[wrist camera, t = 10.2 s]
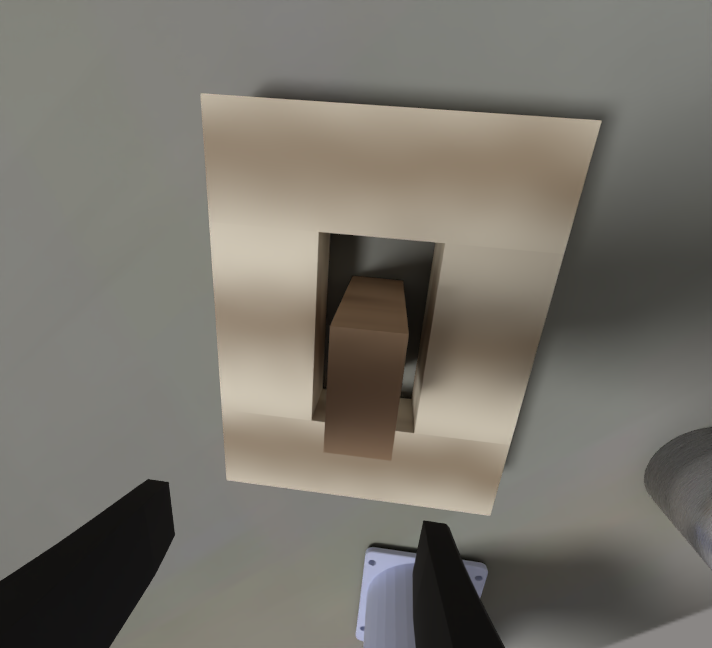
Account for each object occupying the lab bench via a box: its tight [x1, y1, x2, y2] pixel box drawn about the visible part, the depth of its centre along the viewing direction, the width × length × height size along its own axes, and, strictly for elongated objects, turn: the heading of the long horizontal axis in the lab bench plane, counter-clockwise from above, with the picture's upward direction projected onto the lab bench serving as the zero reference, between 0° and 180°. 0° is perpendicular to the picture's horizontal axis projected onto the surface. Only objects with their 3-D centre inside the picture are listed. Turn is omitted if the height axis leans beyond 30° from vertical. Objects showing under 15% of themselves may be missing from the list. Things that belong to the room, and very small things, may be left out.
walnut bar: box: [323, 276, 409, 461], centre depth 16 cm, size 5×2×7 cm, turn 176°
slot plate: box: [201, 93, 602, 516], centre depth 17 cm, size 18×14×3 cm
